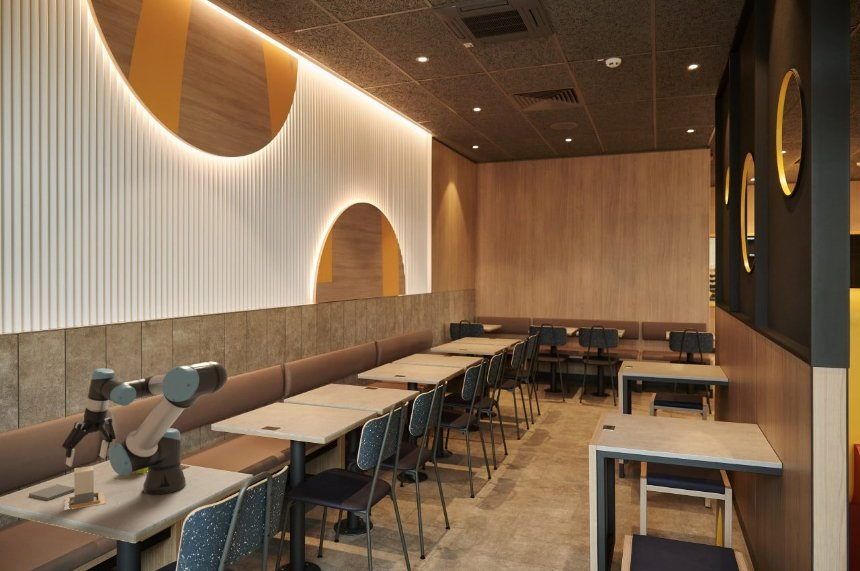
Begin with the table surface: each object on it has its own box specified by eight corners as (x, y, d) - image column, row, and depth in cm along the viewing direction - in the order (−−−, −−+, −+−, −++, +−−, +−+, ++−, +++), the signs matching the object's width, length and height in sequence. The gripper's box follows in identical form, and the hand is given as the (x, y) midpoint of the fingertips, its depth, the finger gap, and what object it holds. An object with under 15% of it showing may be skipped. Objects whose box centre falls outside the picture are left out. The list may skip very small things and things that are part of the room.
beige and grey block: (93, 497, 220) (92, 465, 219) (93, 502, 215) (93, 470, 214) (74, 500, 216) (74, 468, 216) (74, 506, 211) (74, 473, 211)
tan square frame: (103, 492, 224) (103, 490, 224) (104, 503, 213) (104, 500, 213) (64, 499, 218) (63, 496, 218) (63, 511, 207) (63, 508, 207)
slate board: (76, 490, 227) (76, 488, 227) (48, 500, 217) (48, 497, 217) (57, 486, 231) (57, 484, 231) (29, 496, 221) (28, 493, 221)
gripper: (119, 401, 238) (109, 450, 240) (58, 410, 216) (47, 464, 217) (131, 407, 235) (121, 457, 236) (70, 416, 213) (59, 472, 214)
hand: (85, 461), depth 227 cm, fingers open, 13 cm apart
